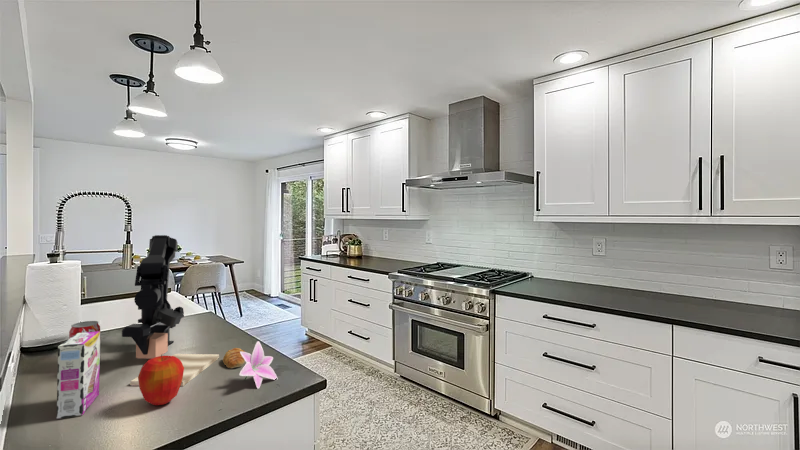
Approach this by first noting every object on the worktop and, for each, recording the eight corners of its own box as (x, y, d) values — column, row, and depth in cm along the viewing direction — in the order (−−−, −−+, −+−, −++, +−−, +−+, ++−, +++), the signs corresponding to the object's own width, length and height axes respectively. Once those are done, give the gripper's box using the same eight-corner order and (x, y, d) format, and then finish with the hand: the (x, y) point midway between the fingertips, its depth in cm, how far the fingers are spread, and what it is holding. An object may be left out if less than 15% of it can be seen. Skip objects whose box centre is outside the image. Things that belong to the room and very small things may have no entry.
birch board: (175, 357, 119) (175, 353, 119) (218, 358, 119) (218, 354, 119) (130, 385, 99) (130, 381, 99) (183, 386, 99) (183, 381, 99)
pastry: (248, 367, 113) (248, 355, 113) (223, 371, 109) (223, 359, 109) (245, 357, 121) (245, 345, 121) (222, 361, 118) (222, 349, 118)
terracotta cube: (149, 351, 120) (149, 332, 120) (167, 351, 120) (167, 333, 120) (135, 358, 114) (136, 338, 114) (155, 358, 114) (155, 339, 114)
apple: (133, 415, 84) (134, 363, 84) (143, 398, 92) (143, 350, 92) (181, 408, 88) (181, 357, 88) (186, 391, 96) (186, 345, 96)
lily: (230, 399, 95) (247, 368, 94) (222, 367, 103) (237, 338, 102) (273, 398, 103) (289, 370, 102) (261, 369, 112) (276, 343, 110)
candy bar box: (84, 416, 84) (84, 343, 84) (55, 420, 82) (55, 346, 82) (101, 394, 94) (101, 329, 94) (76, 397, 92) (76, 332, 92)
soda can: (82, 372, 107) (82, 327, 106) (62, 370, 108) (62, 326, 108) (106, 363, 114) (106, 321, 113) (87, 361, 115) (87, 319, 115)
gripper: (159, 309, 107) (158, 362, 108) (194, 295, 126) (194, 341, 126) (120, 308, 107) (120, 362, 107) (161, 295, 126) (161, 340, 126)
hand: (152, 350), depth 117 cm, fingers closed on terracotta cube, 6 cm apart
